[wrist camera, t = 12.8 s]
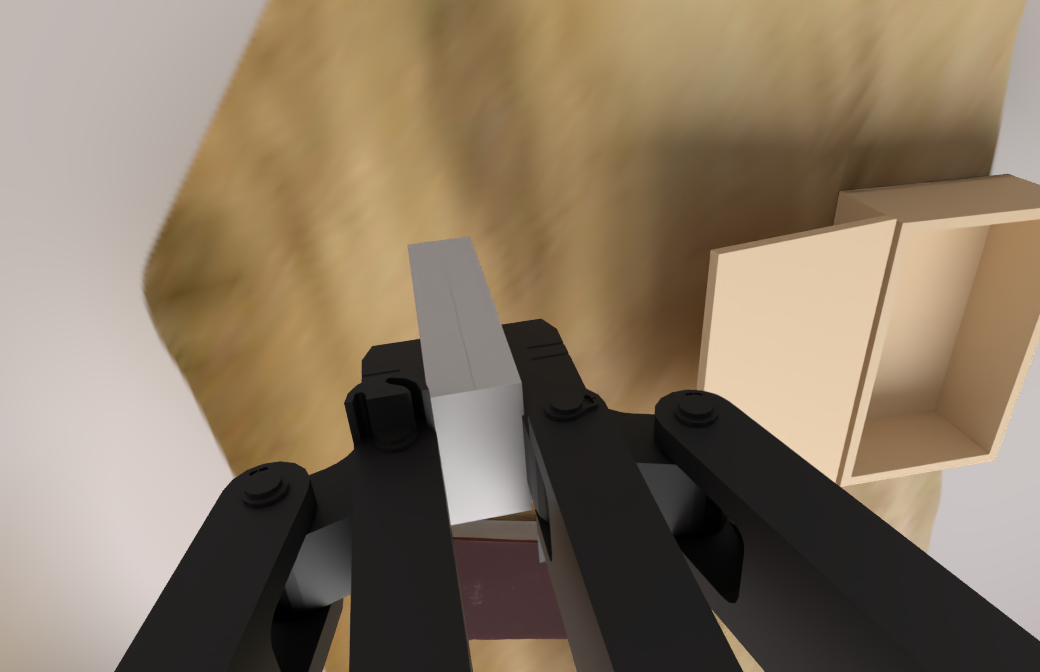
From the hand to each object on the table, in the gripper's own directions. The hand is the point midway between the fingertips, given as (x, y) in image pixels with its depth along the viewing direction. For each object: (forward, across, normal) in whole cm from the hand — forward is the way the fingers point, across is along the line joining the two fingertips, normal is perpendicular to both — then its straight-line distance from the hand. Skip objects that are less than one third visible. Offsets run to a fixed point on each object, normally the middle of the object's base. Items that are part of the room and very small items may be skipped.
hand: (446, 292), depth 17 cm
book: (+30, +4, -43) cm, 52 cm away
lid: (+21, +23, -21) cm, 37 cm away
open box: (+29, +37, -22) cm, 52 cm away
